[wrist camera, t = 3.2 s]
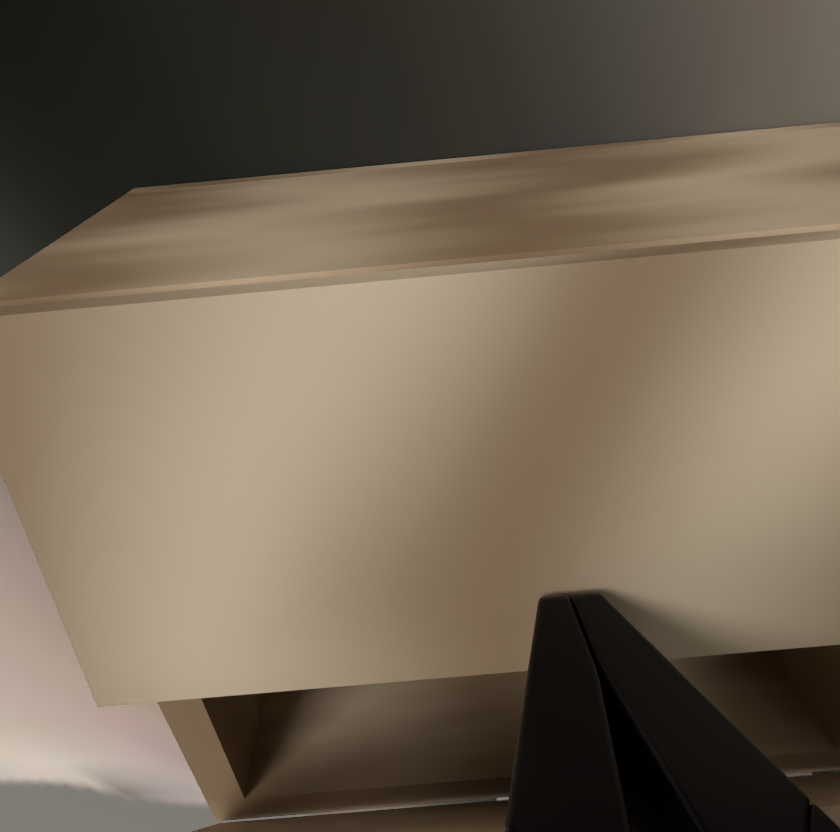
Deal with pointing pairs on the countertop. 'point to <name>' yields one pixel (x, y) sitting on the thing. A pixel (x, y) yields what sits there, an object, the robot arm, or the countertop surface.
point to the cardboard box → (430, 247)
